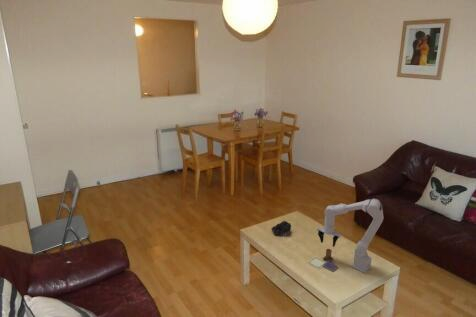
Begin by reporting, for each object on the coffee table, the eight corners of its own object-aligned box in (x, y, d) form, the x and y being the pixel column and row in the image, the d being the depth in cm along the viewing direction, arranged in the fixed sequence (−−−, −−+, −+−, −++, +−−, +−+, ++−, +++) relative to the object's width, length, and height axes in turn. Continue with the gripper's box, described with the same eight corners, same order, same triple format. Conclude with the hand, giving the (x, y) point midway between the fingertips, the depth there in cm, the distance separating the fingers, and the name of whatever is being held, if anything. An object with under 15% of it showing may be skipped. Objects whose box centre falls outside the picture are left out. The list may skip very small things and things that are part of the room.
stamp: (333, 259, 213) (334, 250, 210) (329, 263, 210) (330, 253, 207) (326, 256, 216) (327, 247, 213) (323, 259, 213) (323, 250, 211)
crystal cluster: (268, 230, 248) (268, 219, 244) (284, 225, 253) (284, 214, 249) (278, 240, 237) (278, 229, 233) (294, 234, 242) (294, 223, 238)
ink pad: (338, 267, 205) (338, 265, 205) (332, 272, 201) (333, 270, 201) (328, 262, 210) (328, 260, 210) (322, 266, 206) (322, 265, 206)
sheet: (327, 262, 210) (327, 262, 210) (319, 269, 204) (319, 268, 204) (315, 256, 216) (315, 256, 216) (306, 262, 210) (306, 262, 210)
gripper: (343, 225, 207) (341, 244, 211) (320, 218, 215) (319, 237, 219) (339, 230, 201) (337, 250, 205) (316, 223, 209) (314, 242, 213)
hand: (327, 244), depth 212 cm, fingers open, 7 cm apart
